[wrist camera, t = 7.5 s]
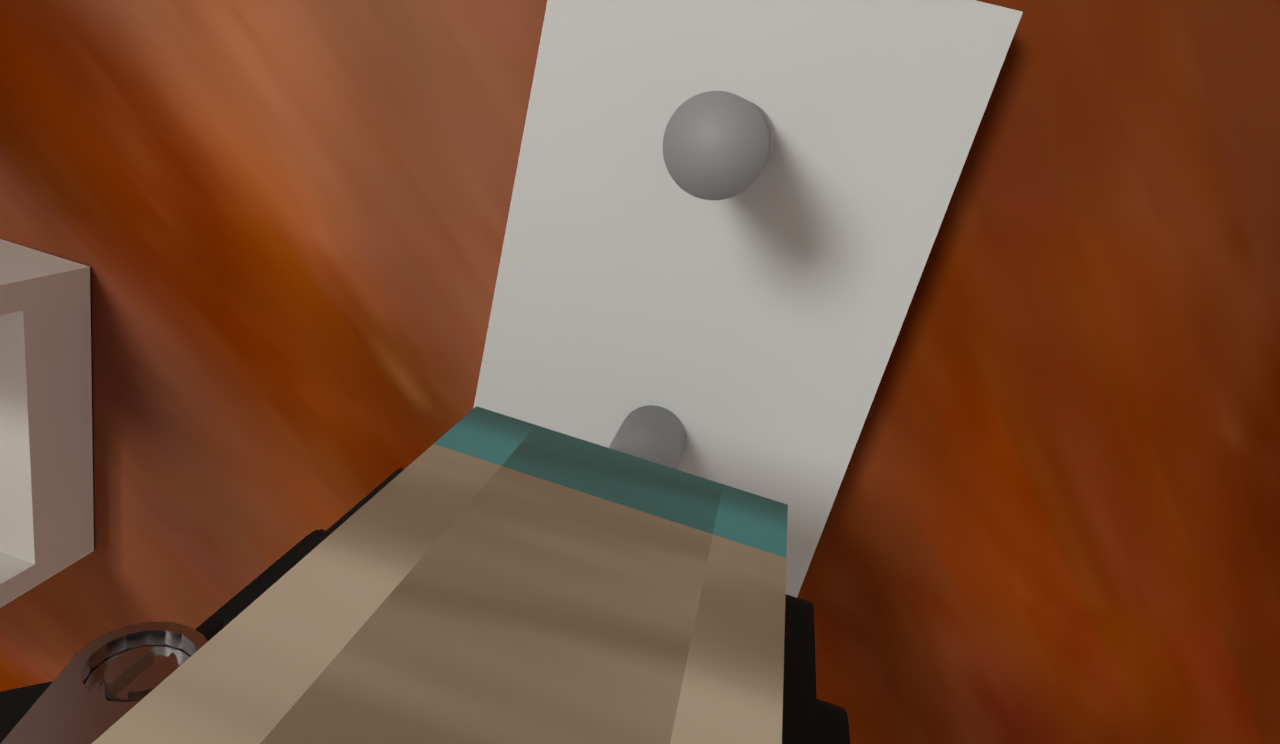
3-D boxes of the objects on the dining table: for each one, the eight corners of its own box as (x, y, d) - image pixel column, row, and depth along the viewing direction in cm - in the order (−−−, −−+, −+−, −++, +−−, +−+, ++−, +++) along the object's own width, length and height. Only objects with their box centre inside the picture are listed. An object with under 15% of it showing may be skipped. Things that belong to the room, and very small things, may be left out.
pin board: (474, 482, 21) (365, 605, 16) (581, -83, 16) (476, -185, 11) (791, 585, 20) (789, 753, 15) (1005, 20, 15) (1120, -36, 10)
